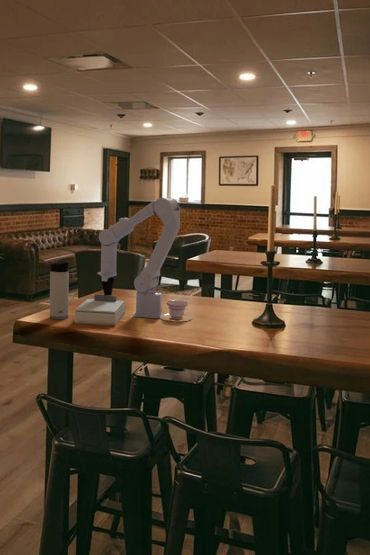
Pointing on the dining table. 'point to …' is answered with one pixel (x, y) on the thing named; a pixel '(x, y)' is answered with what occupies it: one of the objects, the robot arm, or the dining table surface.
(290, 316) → the dining table surface
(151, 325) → the dining table surface
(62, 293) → the travel mug
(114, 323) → the box
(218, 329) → the dining table surface
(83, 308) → the lid
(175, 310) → the teacup
